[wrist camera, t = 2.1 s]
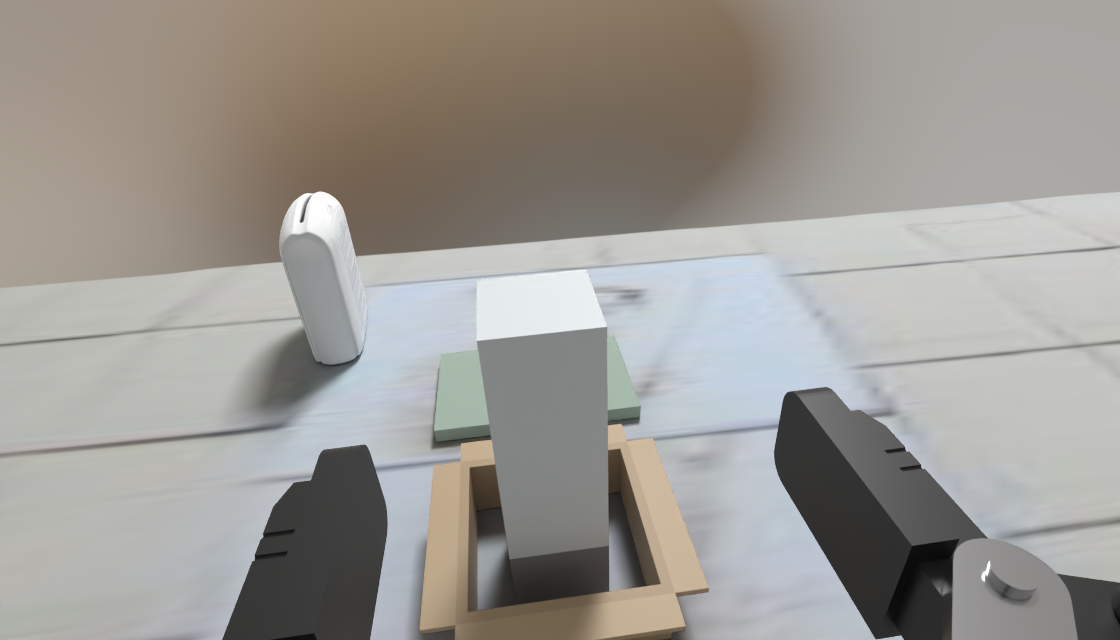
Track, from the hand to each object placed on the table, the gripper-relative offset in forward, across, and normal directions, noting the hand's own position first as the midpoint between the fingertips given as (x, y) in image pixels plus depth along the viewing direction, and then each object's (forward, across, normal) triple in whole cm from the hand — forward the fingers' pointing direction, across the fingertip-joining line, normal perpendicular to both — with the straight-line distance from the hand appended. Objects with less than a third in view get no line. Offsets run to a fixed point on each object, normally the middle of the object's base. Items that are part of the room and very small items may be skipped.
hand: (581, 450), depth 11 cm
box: (+11, 0, +19) cm, 22 cm away
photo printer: (+37, +16, +19) cm, 45 cm away
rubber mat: (+26, 0, +19) cm, 32 cm away
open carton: (+11, 0, +19) cm, 22 cm away
